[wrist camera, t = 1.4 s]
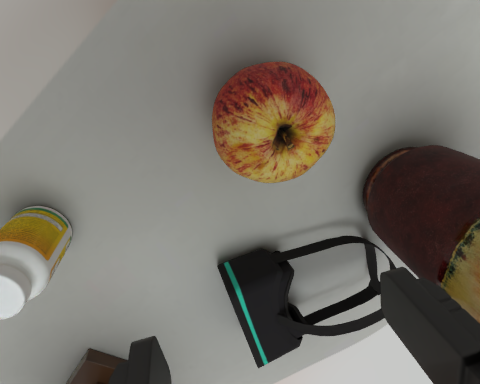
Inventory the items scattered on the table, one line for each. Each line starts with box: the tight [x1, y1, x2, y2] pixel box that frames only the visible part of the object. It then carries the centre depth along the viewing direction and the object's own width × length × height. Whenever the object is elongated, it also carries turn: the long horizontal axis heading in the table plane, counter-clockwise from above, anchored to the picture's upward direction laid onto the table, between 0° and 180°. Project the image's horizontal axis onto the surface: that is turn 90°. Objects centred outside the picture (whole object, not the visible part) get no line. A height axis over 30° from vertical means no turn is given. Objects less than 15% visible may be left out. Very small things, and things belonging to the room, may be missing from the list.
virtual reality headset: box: [217, 236, 396, 368], centre depth 35 cm, size 11×17×10 cm, turn 106°
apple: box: [212, 62, 335, 183], centre depth 27 cm, size 9×9×10 cm
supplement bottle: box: [0, 206, 72, 320], centre depth 28 cm, size 5×5×10 cm
